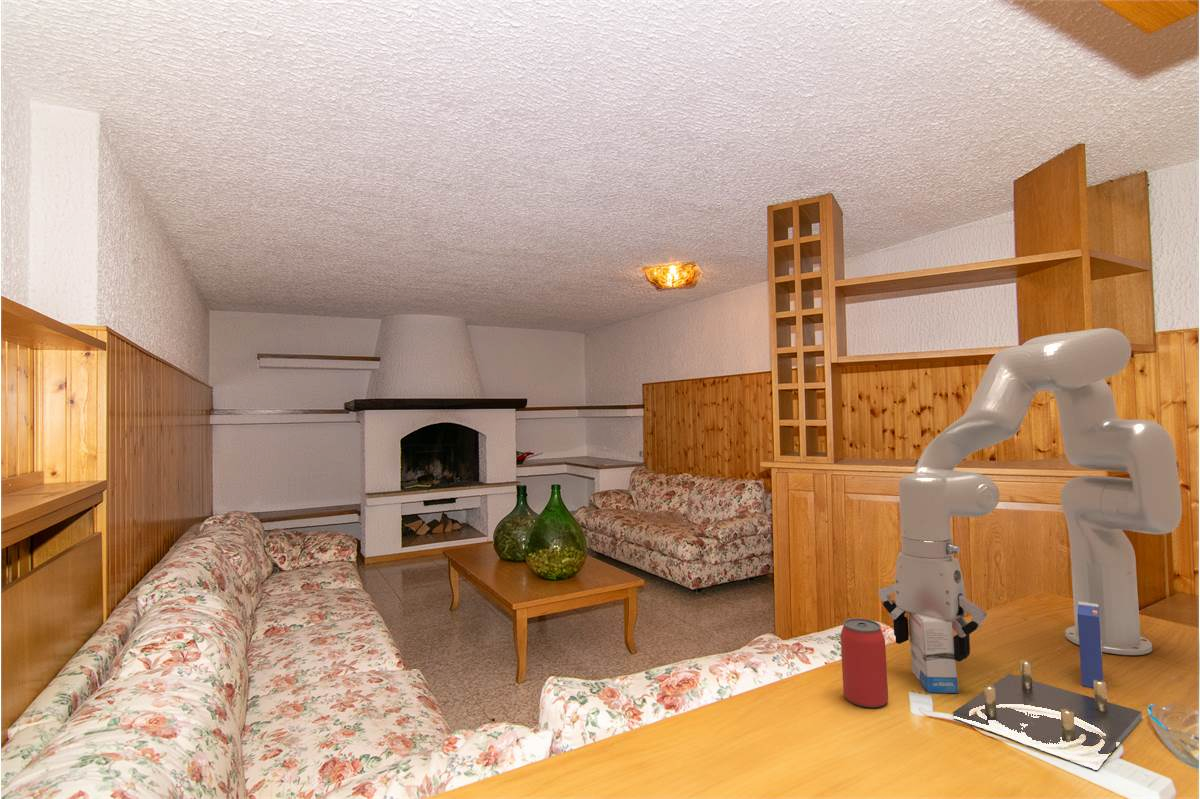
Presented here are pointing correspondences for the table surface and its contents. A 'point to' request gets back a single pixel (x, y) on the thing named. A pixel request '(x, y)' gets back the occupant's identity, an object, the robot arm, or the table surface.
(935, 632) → the ink box
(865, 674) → the beer can
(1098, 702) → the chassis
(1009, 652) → the table surface
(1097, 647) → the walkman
